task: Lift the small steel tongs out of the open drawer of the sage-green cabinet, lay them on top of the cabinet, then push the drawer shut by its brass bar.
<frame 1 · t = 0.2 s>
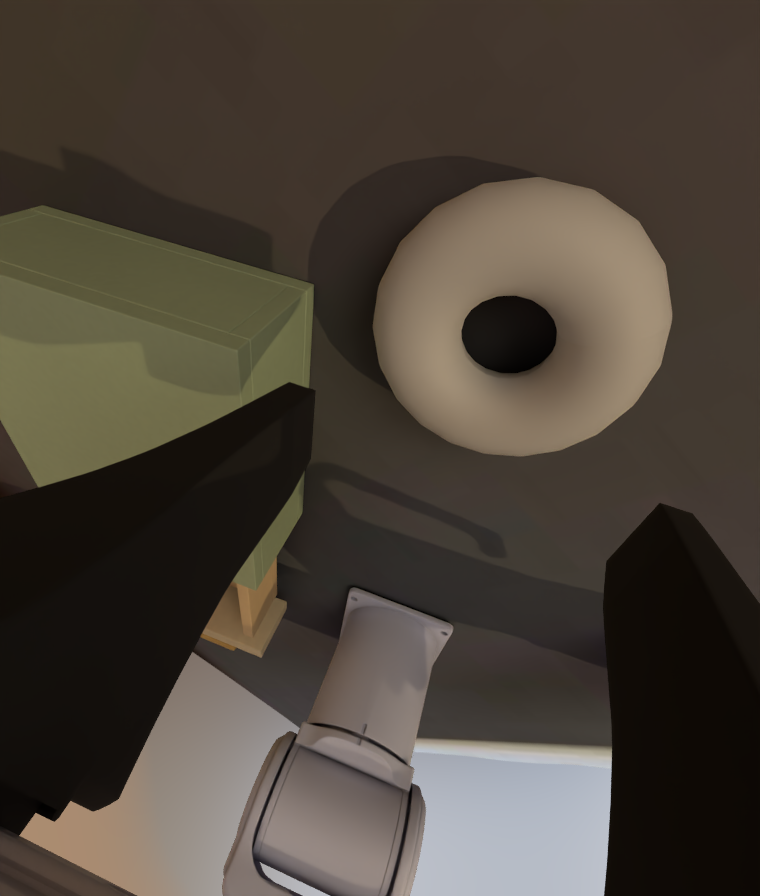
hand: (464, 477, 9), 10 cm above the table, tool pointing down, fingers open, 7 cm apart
cabinet: (196, 386, 25), on the table
drawer: (197, 570, 33), point 3 cm above the table, slide at 11.0 cm, touching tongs
donut: (511, 316, 17), on the table
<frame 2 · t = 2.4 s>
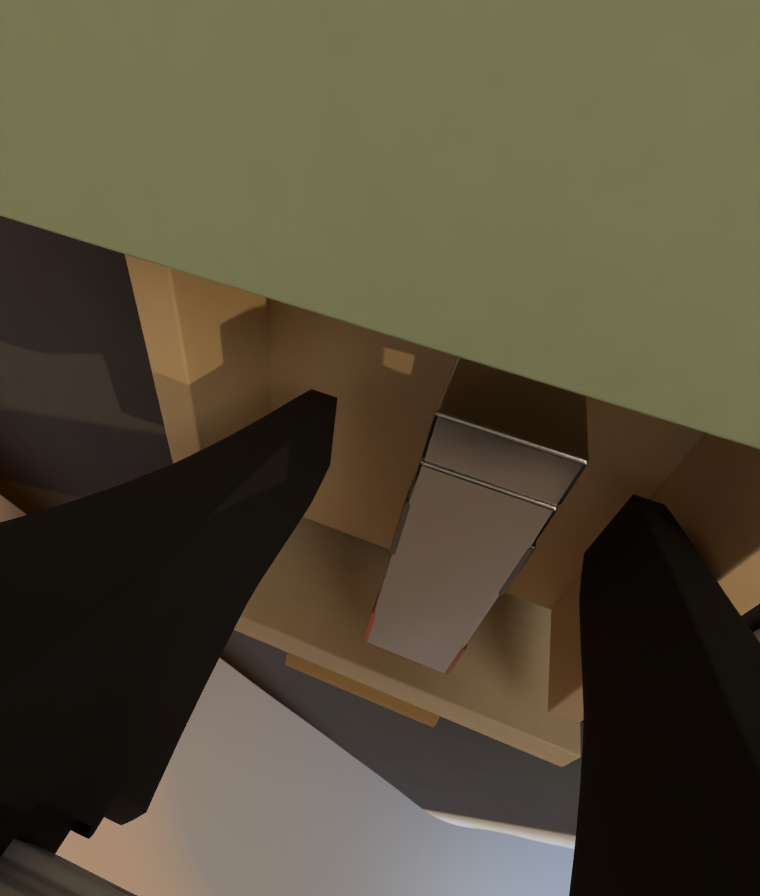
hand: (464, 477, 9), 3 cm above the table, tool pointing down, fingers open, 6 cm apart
drawer: (414, 530, 12), point 3 cm above the table, slide at 10.9 cm, touching gripper, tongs
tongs: (470, 467, 11), point 2 cm above the table, touching drawer
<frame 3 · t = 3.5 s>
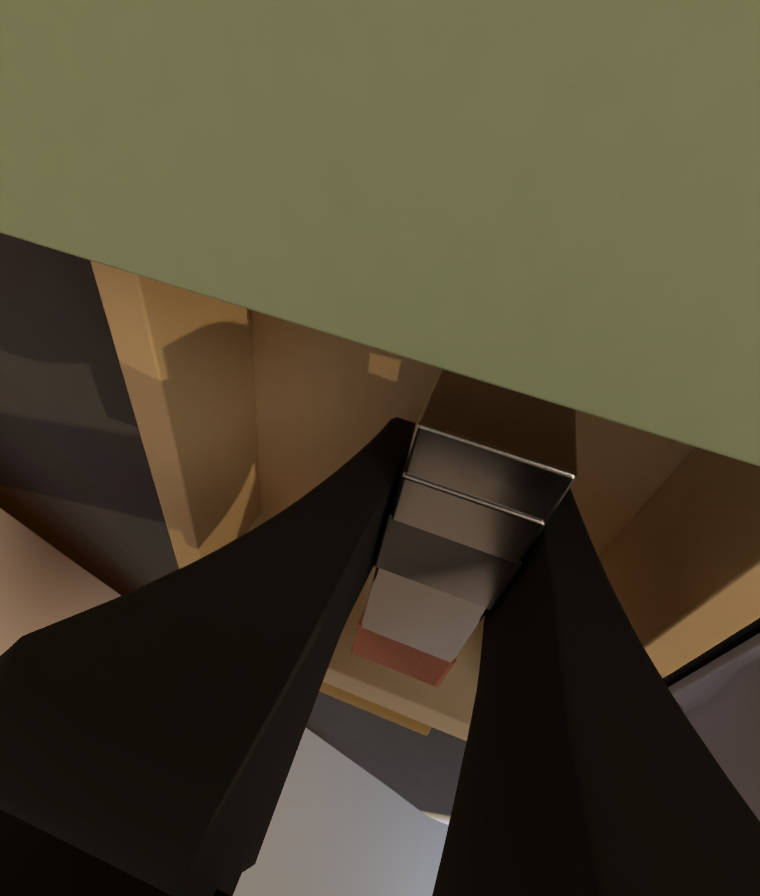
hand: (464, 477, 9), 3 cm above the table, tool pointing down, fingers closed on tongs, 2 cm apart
drawer: (403, 539, 11), point 3 cm above the table, slide at 10.9 cm, touching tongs
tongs: (460, 474, 11), point 2 cm above the table, touching drawer, gripper
when the fingers open (7 cm above the table, at t = 6.8 s): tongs stays where it is, resting on cabinet.
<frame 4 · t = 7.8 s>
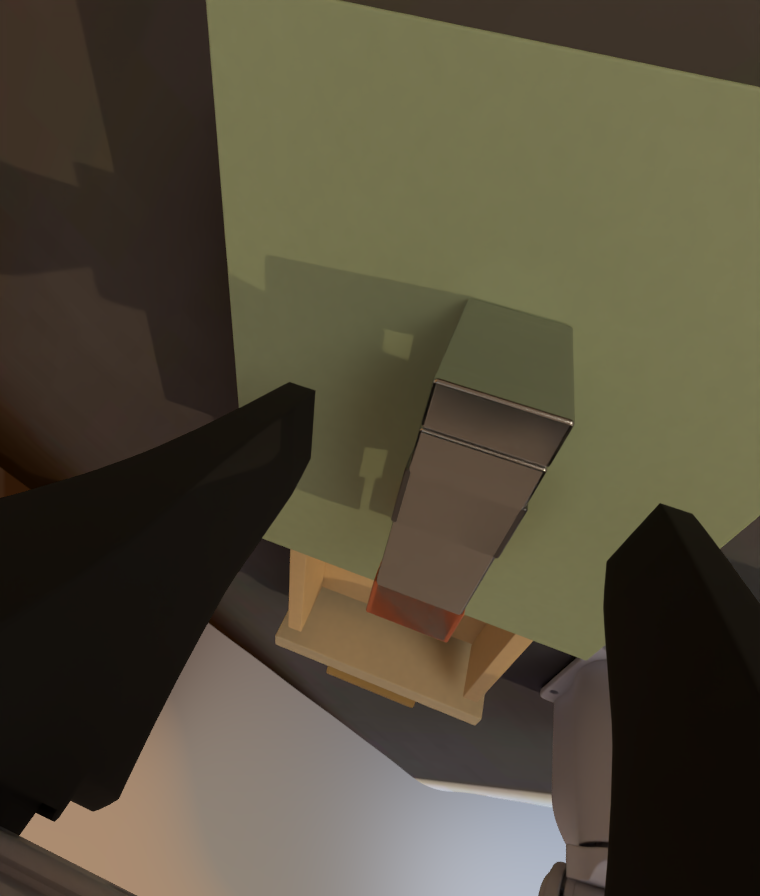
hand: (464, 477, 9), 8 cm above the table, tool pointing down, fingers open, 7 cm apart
cabinet: (494, 343, 16), on the table
drawer: (398, 609, 24), point 3 cm above the table, slide at 10.9 cm
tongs: (467, 445, 12), point 6 cm above the table, touching cabinet
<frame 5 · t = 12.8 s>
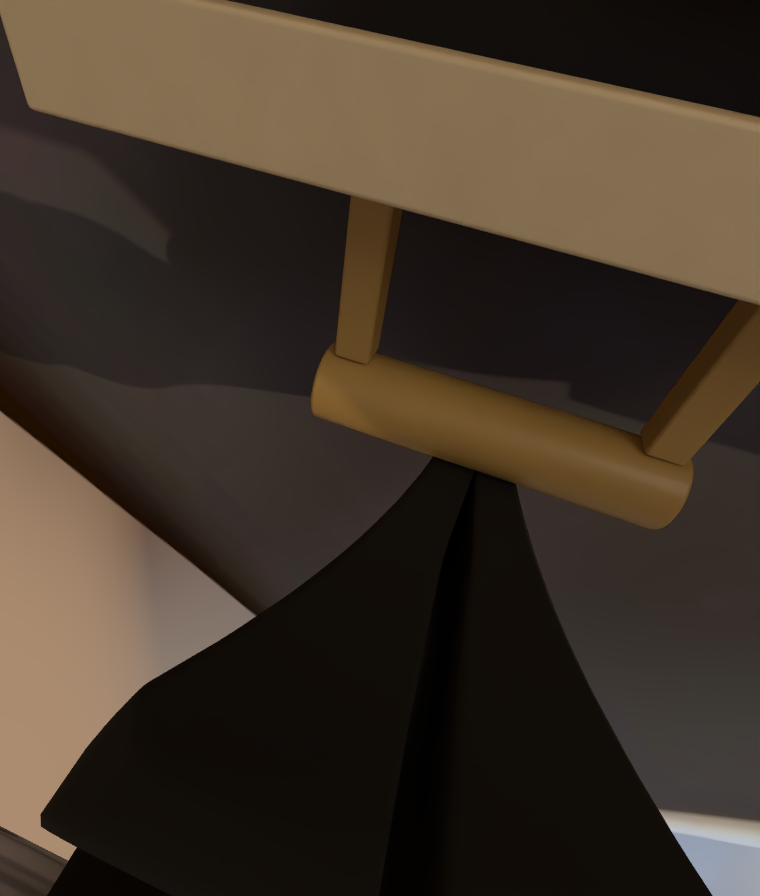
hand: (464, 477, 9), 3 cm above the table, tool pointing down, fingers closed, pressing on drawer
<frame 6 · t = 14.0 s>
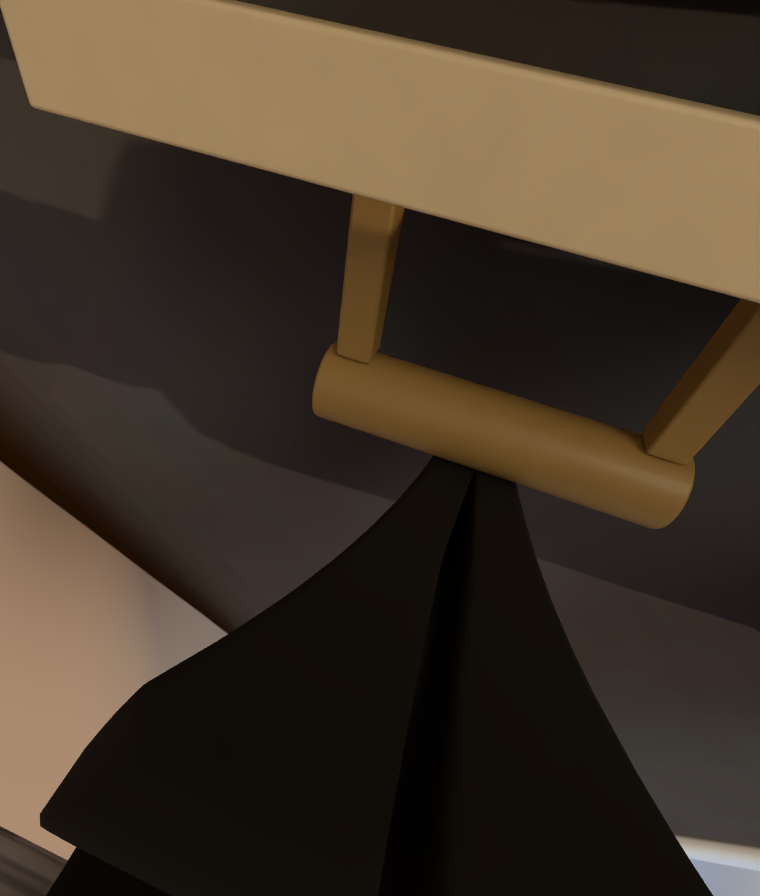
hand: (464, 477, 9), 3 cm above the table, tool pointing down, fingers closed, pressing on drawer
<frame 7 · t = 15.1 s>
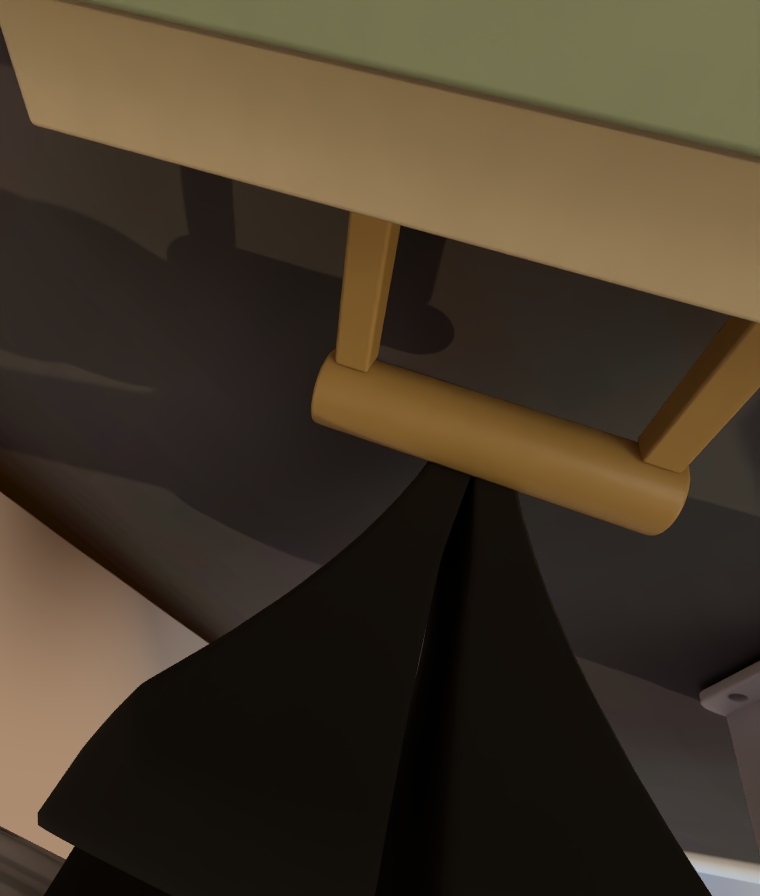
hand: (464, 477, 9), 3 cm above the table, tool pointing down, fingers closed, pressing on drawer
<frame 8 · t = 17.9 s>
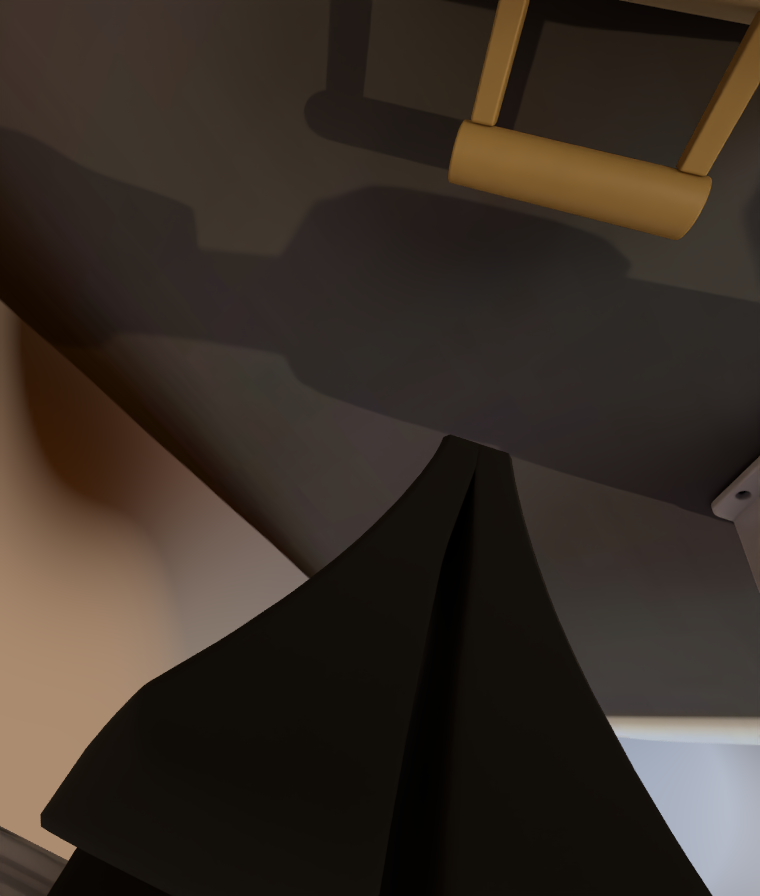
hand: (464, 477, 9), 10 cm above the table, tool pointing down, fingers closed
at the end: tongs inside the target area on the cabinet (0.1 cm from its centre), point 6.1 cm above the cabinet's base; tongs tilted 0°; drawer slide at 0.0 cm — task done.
